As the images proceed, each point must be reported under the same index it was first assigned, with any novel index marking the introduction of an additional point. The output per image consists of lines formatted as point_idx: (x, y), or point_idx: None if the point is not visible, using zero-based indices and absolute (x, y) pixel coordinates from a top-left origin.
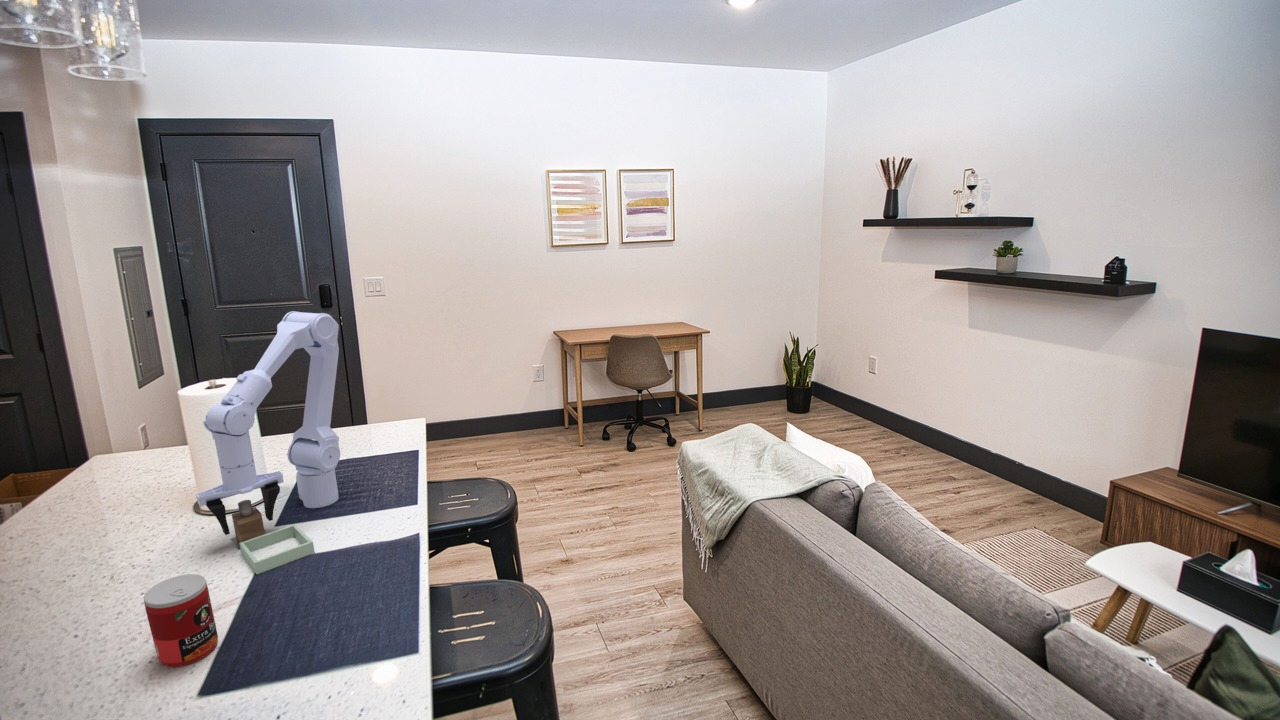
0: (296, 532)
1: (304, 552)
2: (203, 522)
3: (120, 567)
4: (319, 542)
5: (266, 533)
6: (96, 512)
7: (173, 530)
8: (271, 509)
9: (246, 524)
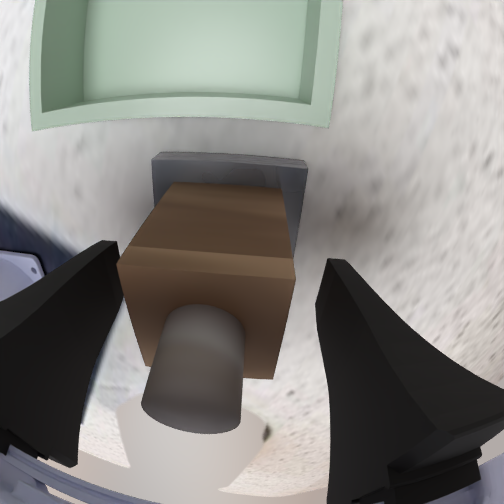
0: (53, 64)
1: None
2: (278, 407)
3: (468, 341)
4: None
5: None
6: None
7: None
8: (61, 272)
9: (237, 244)
